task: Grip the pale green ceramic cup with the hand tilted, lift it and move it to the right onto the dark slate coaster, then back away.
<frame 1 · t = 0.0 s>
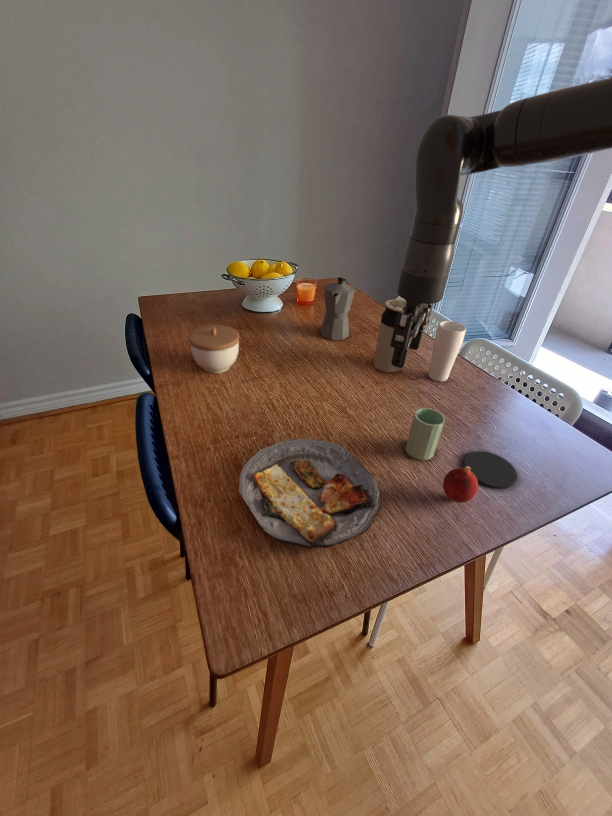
hand: (405, 356, 74), 20 cm above the table, tool pointing down, fingers open, 8 cm apart
food plate: (309, 494, 72), on the table
cup: (419, 450, 83), on the table
travel mug: (387, 366, 112), on the table
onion: (454, 500, 73), on the table
coffeepot: (335, 333, 128), on the table
drinking glass: (437, 378, 108), on the table
lidded bowl: (216, 367, 106), on the table
coaster: (489, 470, 79), on the table
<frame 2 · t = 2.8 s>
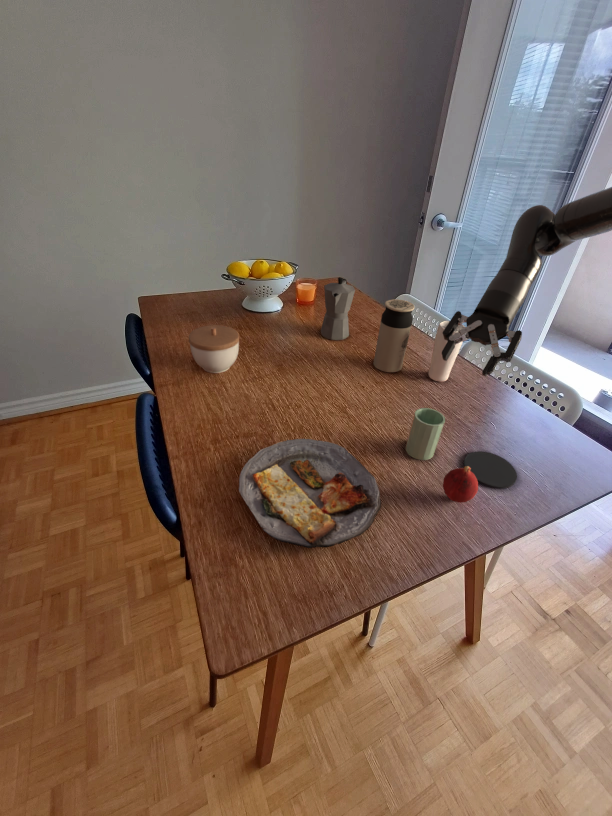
hand: (463, 366, 81), 16 cm above the table, tool tilted 45°, fingers open, 8 cm apart
nothing on the table moved.
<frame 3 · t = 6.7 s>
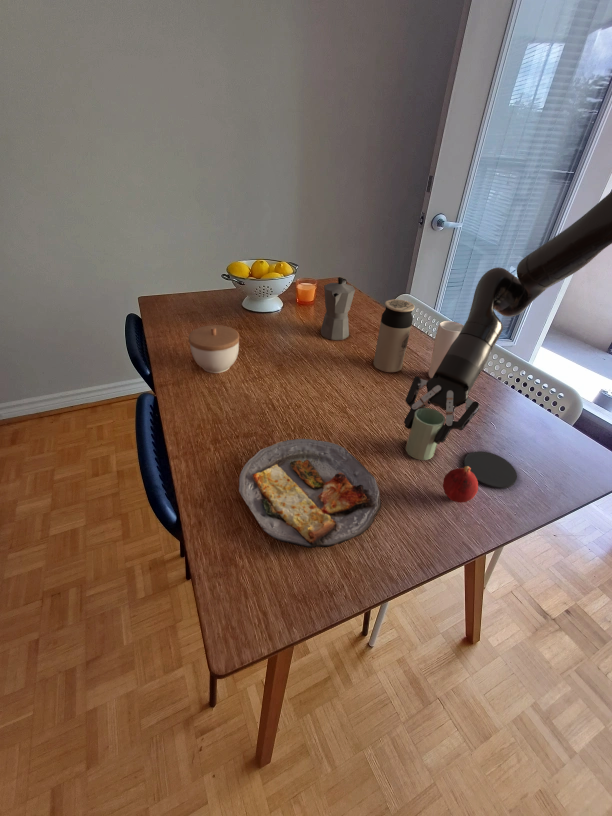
hand: (421, 435, 79), 5 cm above the table, tool tilted 45°, fingers closed on cup, 6 cm apart
cup: (419, 450, 83), on the table, touching gripper
everything else where it was.
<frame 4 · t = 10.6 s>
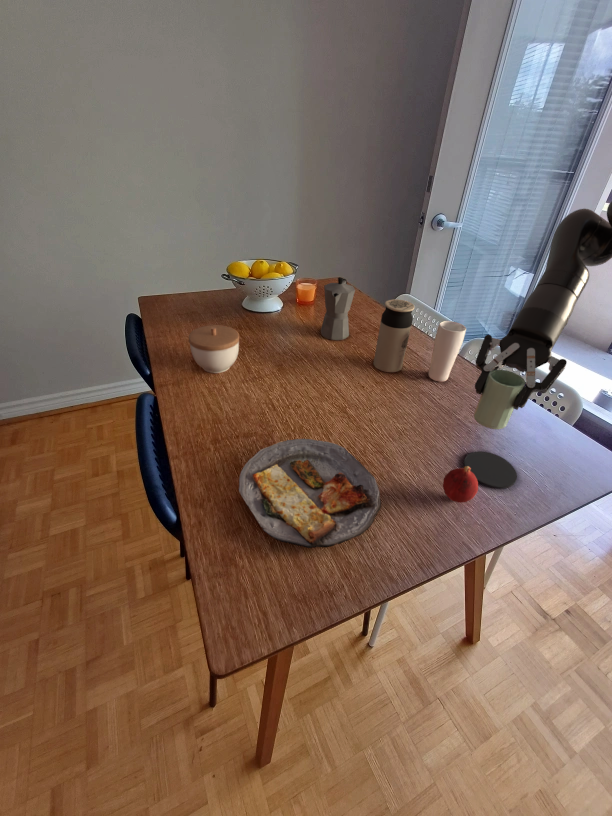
hand: (496, 399, 69), 17 cm above the table, tool tilted 45°, fingers closed on cup, 6 cm apart
cup: (490, 419, 73), point 12 cm above the table, touching gripper
everything else where it was.
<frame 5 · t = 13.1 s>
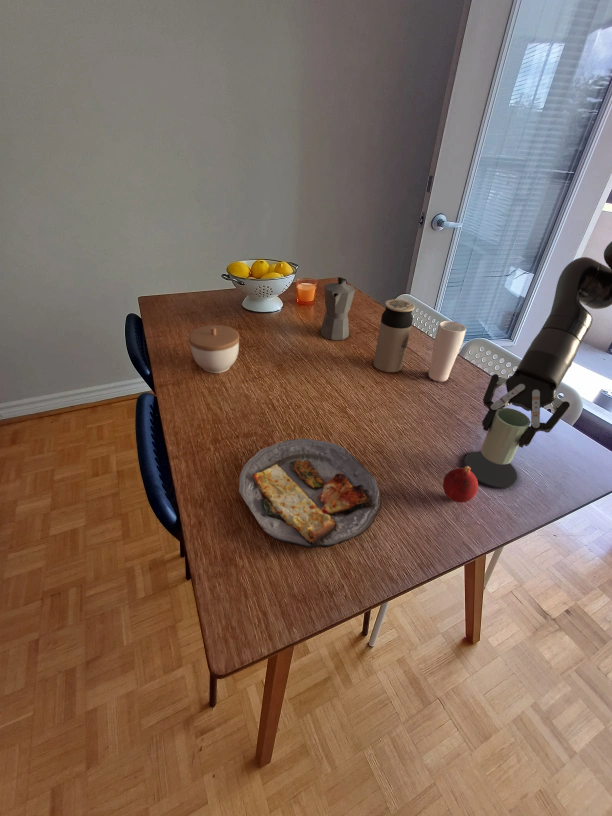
hand: (502, 437, 73), 9 cm above the table, tool tilted 45°, fingers closed on cup, 6 cm apart
cup: (496, 454, 77), point 4 cm above the table, touching gripper
everything else where it was.
when the fingers open (6 cm above the table, at t = 14.7 s): cup stays where it is, resting on coaster.
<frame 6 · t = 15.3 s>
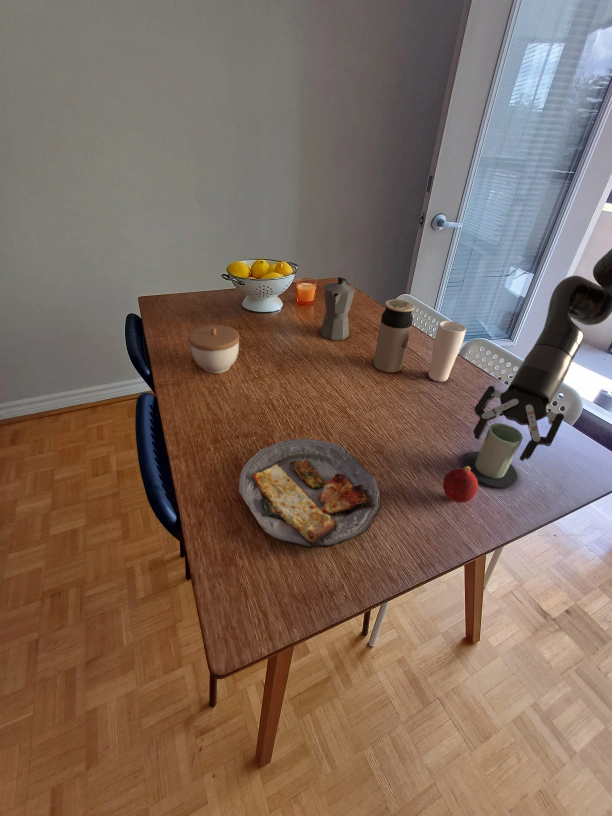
hand: (498, 448, 75), 7 cm above the table, tool tilted 45°, fingers open, 8 cm apart
cup: (490, 467, 79), resting on coaster
everything else where it was.
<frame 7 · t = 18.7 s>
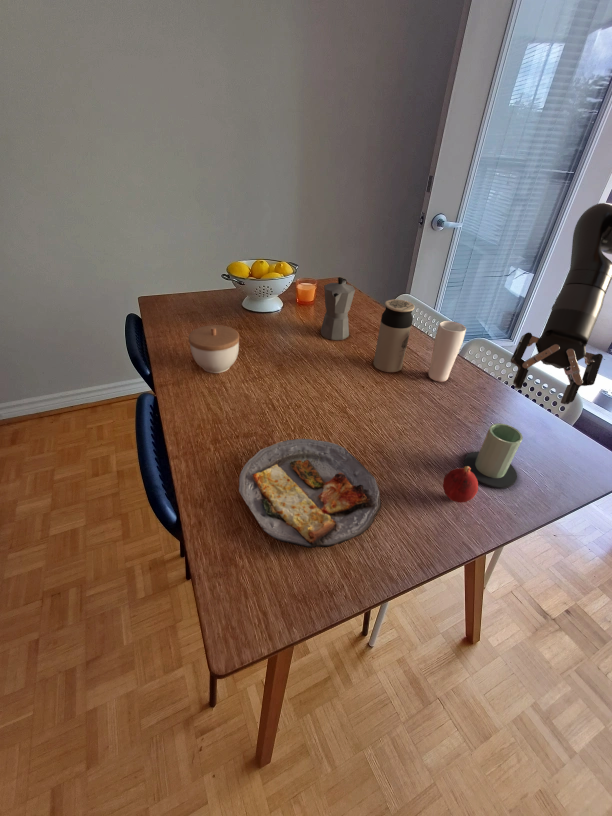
hand: (540, 395, 75), 15 cm above the table, tool tilted 35°, fingers open, 8 cm apart
nothing on the table moved.
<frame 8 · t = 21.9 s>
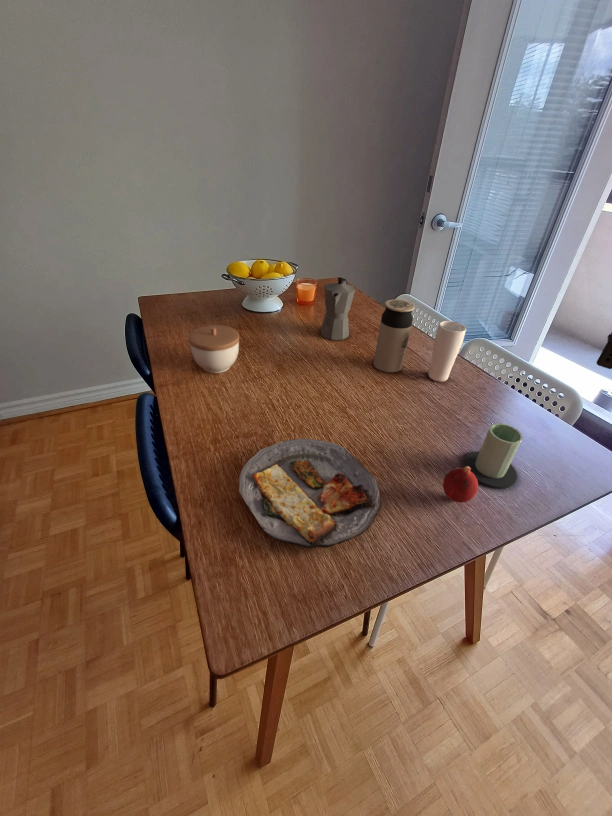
hand: (609, 356, 60), 28 cm above the table, tool pointing down, fingers open, 8 cm apart
nothing on the table moved.
at the end: cup 0.1 cm off-centre on the coaster, point 0.5 cm above the coaster's base; cup tilted 0°; the gripper is holding nothing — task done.
